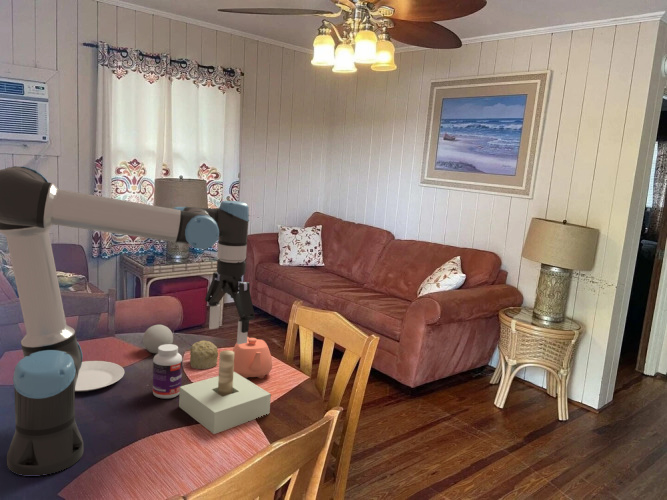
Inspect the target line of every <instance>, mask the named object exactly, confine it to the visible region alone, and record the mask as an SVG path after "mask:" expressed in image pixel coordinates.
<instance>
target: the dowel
mask: <svg viewBox="0 0 667 500" xmlns="http://www.w3.org/2000/svg"><path fill="white" fill-rule="evenodd" d="M218 357H219V362H218V376H219V379H218V394H219V395H221V396H222V397H223V396H226V395H230V394H232V392H233V372H234V352H233V350H222V351H220V352H219V356H218Z"/></svg>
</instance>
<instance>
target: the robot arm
mask: <svg viewBox="0 0 667 500" xmlns="http://www.w3.org/2000/svg"><path fill="white" fill-rule="evenodd" d="M249 209H250V206H249V205H248V203H246V202H243V201H238V200H237V201H236V200H223V201H220V203H219V206H218V207H217V208H213V207H212V208H209V207H193V206H187V205H186V206H175V207H173V208H169V207H166V206H165V207H164V206H158V205H151V204H147V203H141V202H136V201H129V200H125V199H124V200H123V199H118V198H112V197H111V198H110V197H108V196H107V197H106V196H101V195H100V196H99V195H94V194H87V193H83V192H82V193H81V192H77V191H71V190H66V189H61V188H60V189H59V188H58V187H57V185H56V184H55V183H54V182H49V181H48V179H47V178H46V177H45V176H44V175H43V174H42V173H40V172H39V171H37V170H35V169H33V168H30V167H27V166H16V165H14V166H9V167H5V168H3V169H0V234H1V235H4V236H5V237H6V242H7V247H8V248H7V249H8V251H9V258H10V261H11V267H12V270H13V275H14V280H15V285H16V289H17V295H18V298H19V304H20V309H21V312H22V313H21V314H22V317H23V323H24V328H25V332H26V334H25V335H24V337H23V338H22V339H21V341H20V344H21V349H22V354H23V358H21V359H20V360H18V362H17V363H16V365H15V368H14V373H13V376H12V382H13V389H14V416H15V418H14V419H15V421H14V422H15V431H14V435H13V436H12V440H11V442H10V445H9V448H8V450H7V454H6V466H8V467H7V469H8V468H9V469H10V470H11V471H13V472H15V473H17V474H22V475H43V474H50V473H54V472H57V473H59V472H58V471H60V472H62V471H64V469H65V470H67V469H68V468H70V467H72V466H74V465H75V464H76V463H77V462H79V460H81V458H82V457H83V455H84V440H83V437H82V434H81V432H80V430H79V427H78V425H77V422H76V418H75V417H76V402H75V401H76V400H75V399H76V397H75V396H76V394H75V393H76V391H75V386H76V382H77V378H78V374H79V370H80V368H81V365H82V362H83V360H84V359H83V350H82V348H81V345H80V344H79V342H78V341H77V340H78V339H77V335H76V331H75V329H74V328H73V327H71V326H69V325H68V324H67V320H66V314H65V310H64V305H63V299H62V294H61V290H60V285H59V284H60V283H59V279H58V274H57V269H56V262H55V259H54V253H53V247H52V242H51V237H50V229H51V228H52V227H53V225H55V226H61V227H69V228H75V229H82V230H88V231H95V232H104V233H110V234H117V235H123V236H130V237H131V236H132V237H139V238H145V239H152V240H158V241H159V240H160V241H166V242H173V243H178V244H183V245H189V246H191V247H193V248H195V249H197V250H198V249H199V250H206V249H208V248H212V247H213V246H214V245H215V244H216V243H217V256H216V257H217V258H218V259H217V260H216V262H217V263H216V264H217V265H216V272H215V271H214V272H213V273H212V280H211V282H210V284H209V287H208V291H207V292H206V296H205V298H204V300H205V302H207V303H208V305H209V321H208V322H209V323H208V325H209V326H208V328H209V330H215V329H219V328H220V313H221V305H220V304H221V303H220V302H221V300H222V299H223V298H224V296H225V295H226V294H228V295H229V296H230V298H231V299H233V302H234V305H235V308H236V310H237V313H238V316H239V319H238V320H237V334H236V335H237V336H236V343H237V344H238V345H239V344H243V343H247V337H248V332H249V326H250V321H251V320H252V321H253V320H255V319H256V314H255V311H254V306H253V305H254V304H253V301H252V296H251V291H250V282H249V281H244V282H243V279H242V277H244V275H245V274H246V270H247V269H246V268H247V267H246V266H247V262H246V259H247V249H248V235H249V233H248V232H249V222H250V219H249V214H250V213H249V211H250V210H249ZM66 468H67V469H66ZM9 469H8V470H9ZM10 470H9V471H10ZM61 470H62V471H61ZM11 471H10V472H11ZM54 474H55V473H54ZM50 475H51V474H50Z"/></svg>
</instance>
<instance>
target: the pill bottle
mask: <svg viewBox="0 0 667 500" xmlns="http://www.w3.org/2000/svg"><path fill="white" fill-rule="evenodd" d="M152 360H153V361H152V364H153V365H152V366H153V367H152V394H153V396H155V397H156V398H158V399H159V398H160V399H165V400H166V399H167V400H168V399H173V398H176V397H177V396H179V393H180V387H181V386H182V378H183V377H182V376H183V374H182V373H183V356H182V355H181V354H180V353H179V346H178V345H176V344H173V343H172V344H164V345H161V346H159V347H158V354H155V355H154V357H153V359H152Z"/></svg>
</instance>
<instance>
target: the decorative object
mask: <svg viewBox="0 0 667 500" xmlns="http://www.w3.org/2000/svg"><path fill="white" fill-rule="evenodd" d="M189 354H190V356H189V357H190V359H189V363H190V365H189V366H191V368H192V369H198V370H208V369H211V368H214V367H216V366H217V363H218V357H219V350H218V346H216V344H214V343H213V342H211V341H209V340H203V339H202V340H199V341H196V342H194V343H193V344H192V345H191V346H190V352H189Z"/></svg>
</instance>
